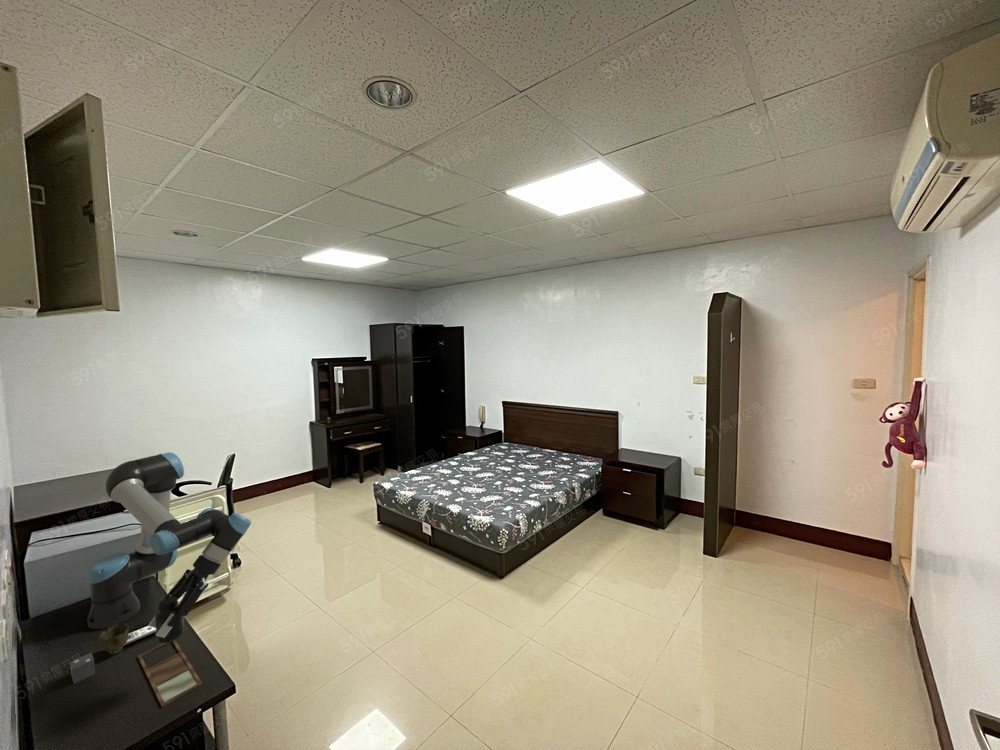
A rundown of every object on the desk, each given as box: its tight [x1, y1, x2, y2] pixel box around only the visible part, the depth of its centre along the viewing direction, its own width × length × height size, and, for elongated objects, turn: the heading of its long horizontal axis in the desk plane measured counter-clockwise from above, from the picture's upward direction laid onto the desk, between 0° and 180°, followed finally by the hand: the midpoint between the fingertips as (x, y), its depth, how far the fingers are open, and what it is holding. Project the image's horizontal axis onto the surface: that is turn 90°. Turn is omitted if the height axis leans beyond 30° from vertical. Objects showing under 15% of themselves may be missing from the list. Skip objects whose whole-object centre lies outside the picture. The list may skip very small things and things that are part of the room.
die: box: [69, 652, 96, 684], centre depth 133 cm, size 5×5×5 cm
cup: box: [99, 623, 130, 655], centre depth 142 cm, size 8×7×8 cm
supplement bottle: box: [154, 597, 185, 644], centre depth 130 cm, size 7×7×12 cm
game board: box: [137, 639, 203, 708], centre depth 135 cm, size 31×10×1 cm, turn 52°
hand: (156, 631), depth 128 cm, fingers closed on supplement bottle, 7 cm apart
